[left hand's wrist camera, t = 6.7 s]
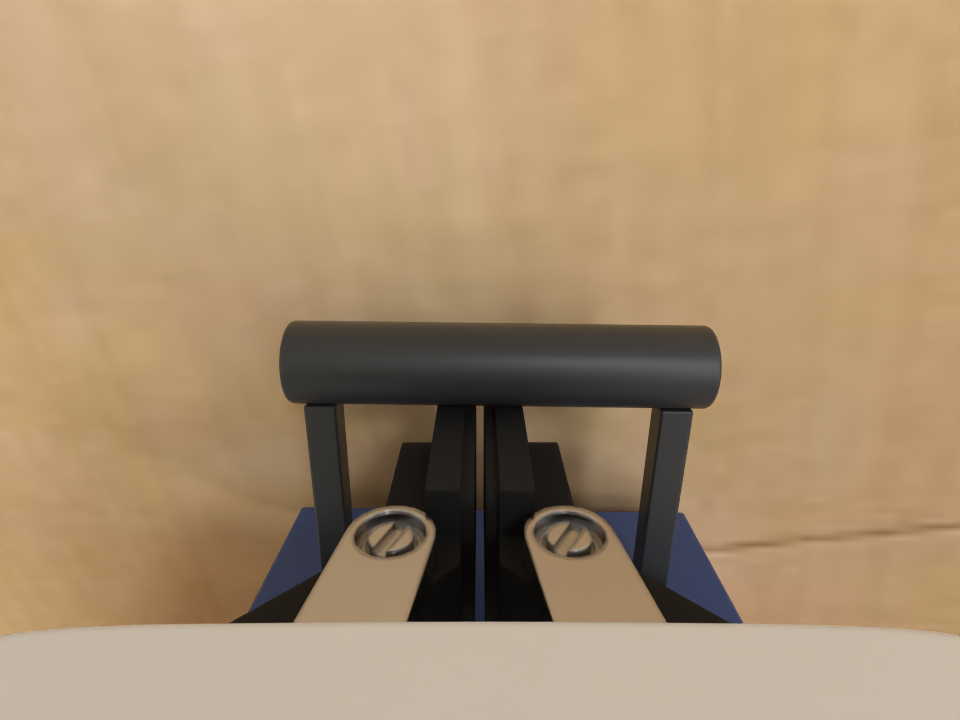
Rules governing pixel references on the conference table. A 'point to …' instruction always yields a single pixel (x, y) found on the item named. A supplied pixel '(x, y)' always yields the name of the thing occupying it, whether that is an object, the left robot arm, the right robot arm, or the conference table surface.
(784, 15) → the conference table surface
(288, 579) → the drawer
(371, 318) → the conference table surface
